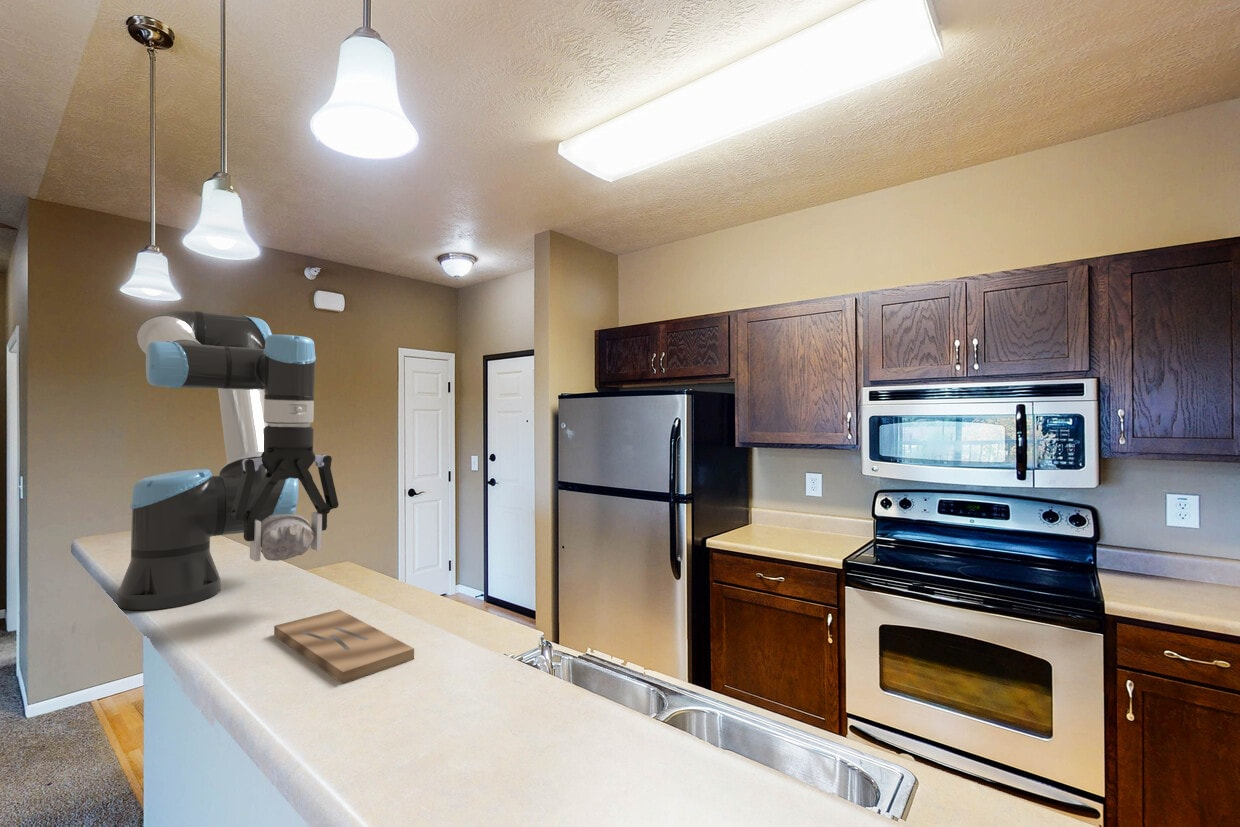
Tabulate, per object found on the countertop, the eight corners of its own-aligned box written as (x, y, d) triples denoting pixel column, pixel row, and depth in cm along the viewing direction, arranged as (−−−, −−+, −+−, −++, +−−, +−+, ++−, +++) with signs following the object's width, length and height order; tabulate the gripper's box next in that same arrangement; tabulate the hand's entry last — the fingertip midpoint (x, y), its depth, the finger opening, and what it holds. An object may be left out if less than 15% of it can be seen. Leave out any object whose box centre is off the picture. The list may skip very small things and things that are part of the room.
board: (274, 635, 90) (274, 625, 90) (339, 618, 97) (339, 609, 97) (342, 683, 74) (343, 671, 74) (414, 658, 82) (414, 648, 82)
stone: (262, 567, 93) (263, 525, 93) (256, 550, 102) (257, 512, 102) (317, 561, 97) (318, 520, 97) (307, 545, 107) (308, 509, 107)
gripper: (222, 426, 88) (219, 571, 89) (361, 425, 105) (358, 547, 105) (207, 424, 93) (205, 561, 94) (343, 423, 110) (340, 540, 110)
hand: (286, 554), depth 100 cm, fingers closed on stone, 9 cm apart
